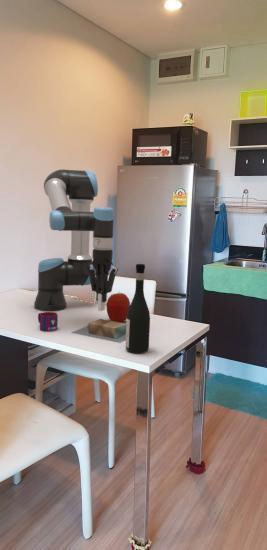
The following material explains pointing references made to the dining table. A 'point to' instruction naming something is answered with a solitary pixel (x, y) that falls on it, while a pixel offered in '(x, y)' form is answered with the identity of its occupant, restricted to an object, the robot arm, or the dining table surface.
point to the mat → (85, 332)
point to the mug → (48, 321)
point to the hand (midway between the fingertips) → (101, 310)
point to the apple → (118, 307)
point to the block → (107, 328)
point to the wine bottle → (138, 317)
